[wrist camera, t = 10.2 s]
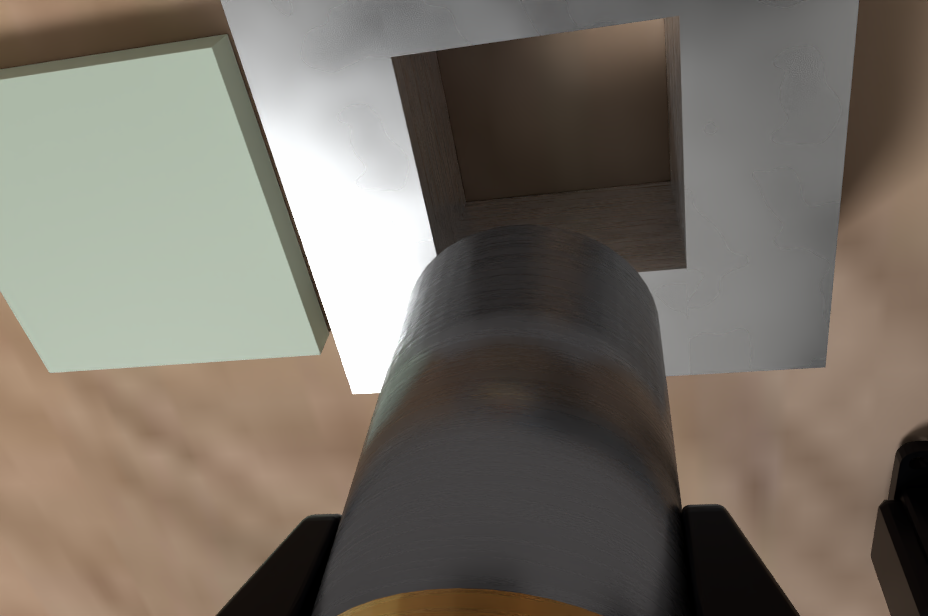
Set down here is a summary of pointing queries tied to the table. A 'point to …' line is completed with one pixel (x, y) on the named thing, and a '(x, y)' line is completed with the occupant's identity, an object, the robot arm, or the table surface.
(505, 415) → the gold and grey cylinder
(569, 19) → the block
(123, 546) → the table surface
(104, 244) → the green mat
